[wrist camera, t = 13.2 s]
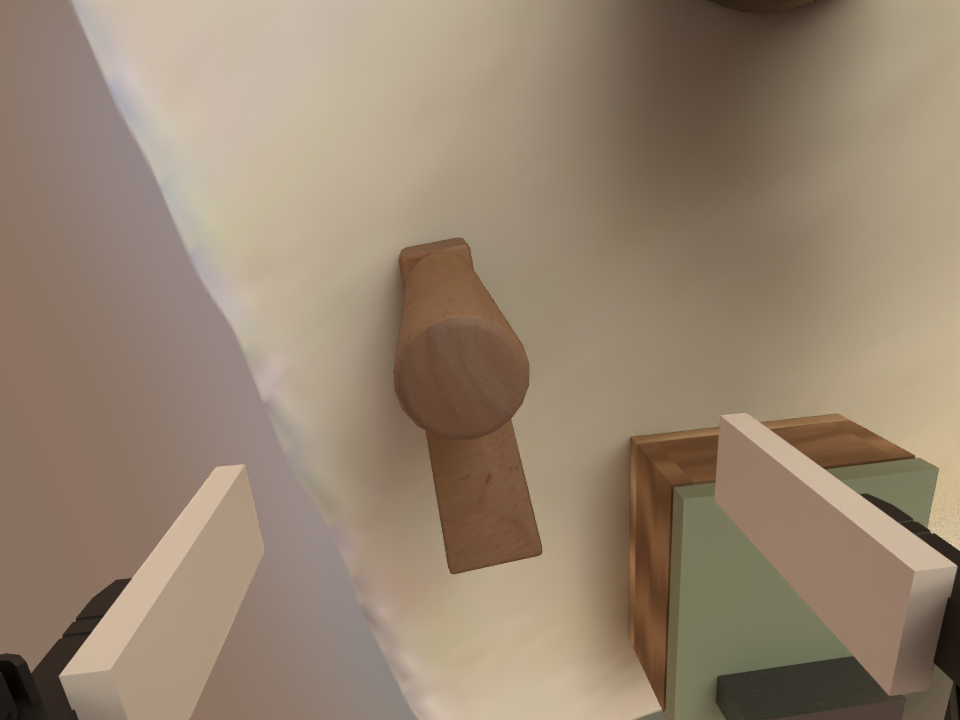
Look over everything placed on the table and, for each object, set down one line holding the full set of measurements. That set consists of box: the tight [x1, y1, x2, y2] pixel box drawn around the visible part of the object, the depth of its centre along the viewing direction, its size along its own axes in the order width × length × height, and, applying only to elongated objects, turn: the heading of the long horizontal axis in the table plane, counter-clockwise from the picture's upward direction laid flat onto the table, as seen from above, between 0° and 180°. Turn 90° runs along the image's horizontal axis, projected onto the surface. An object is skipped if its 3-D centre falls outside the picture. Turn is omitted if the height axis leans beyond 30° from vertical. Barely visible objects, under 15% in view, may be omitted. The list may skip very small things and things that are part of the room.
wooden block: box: [394, 238, 542, 574], centre depth 24 cm, size 4×11×18 cm, turn 10°
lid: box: [665, 458, 939, 720], centre depth 31 cm, size 16×14×4 cm
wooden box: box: [629, 414, 915, 712], centre depth 36 cm, size 16×14×6 cm
